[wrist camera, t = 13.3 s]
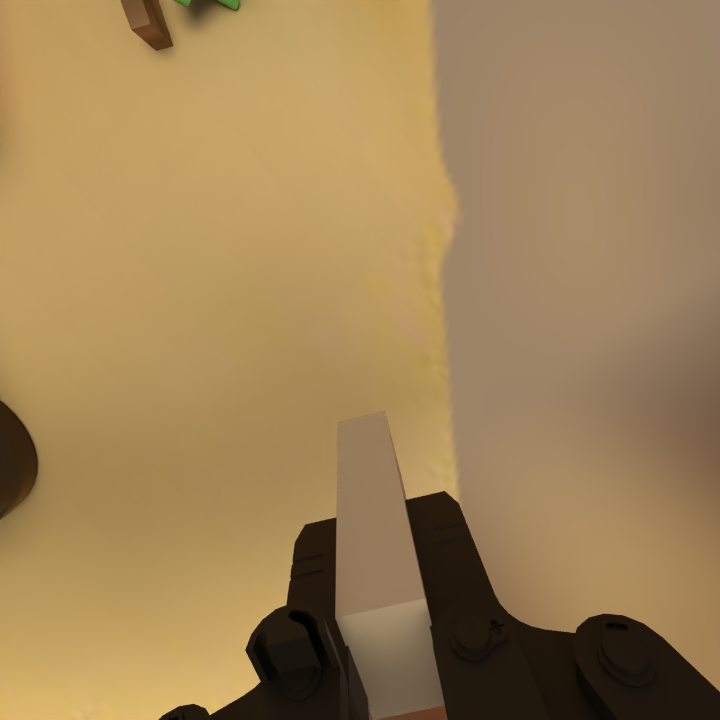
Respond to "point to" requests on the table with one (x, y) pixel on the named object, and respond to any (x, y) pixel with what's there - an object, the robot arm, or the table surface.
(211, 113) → the table surface
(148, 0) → the wooden u-shaped enclosure
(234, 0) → the gear
